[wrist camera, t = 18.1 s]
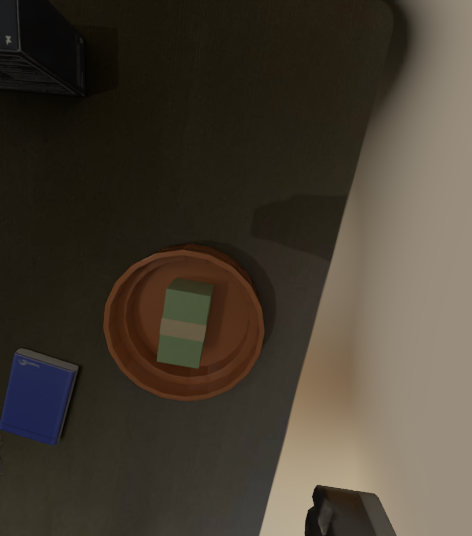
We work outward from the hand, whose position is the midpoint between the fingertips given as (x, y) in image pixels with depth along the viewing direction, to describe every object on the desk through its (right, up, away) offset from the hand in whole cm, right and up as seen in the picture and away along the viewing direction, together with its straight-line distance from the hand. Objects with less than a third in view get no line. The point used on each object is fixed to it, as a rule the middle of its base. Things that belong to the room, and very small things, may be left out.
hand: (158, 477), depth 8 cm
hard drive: (-25, -12, +35) cm, 45 cm away
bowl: (-4, 0, +32) cm, 32 cm away
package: (-4, 0, +31) cm, 32 cm away
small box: (-20, +28, +26) cm, 43 cm away
